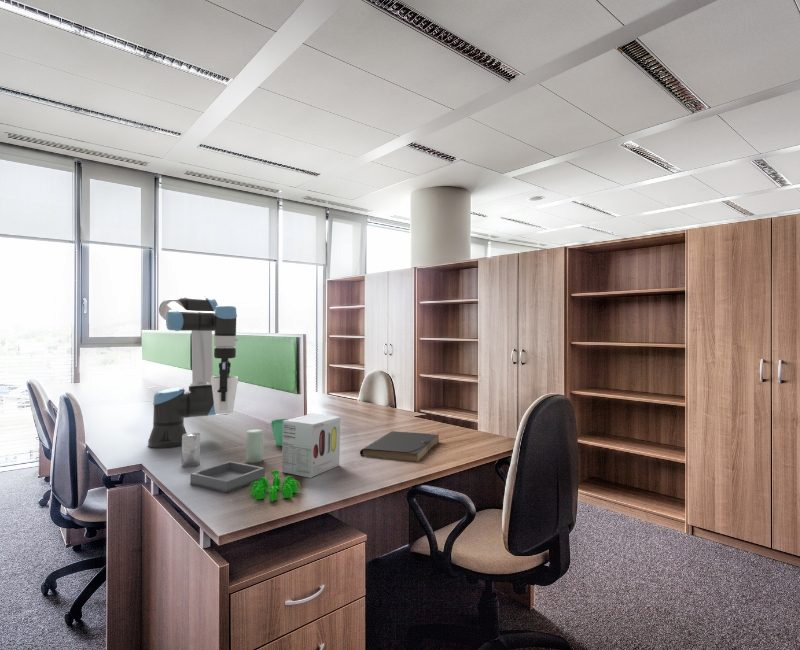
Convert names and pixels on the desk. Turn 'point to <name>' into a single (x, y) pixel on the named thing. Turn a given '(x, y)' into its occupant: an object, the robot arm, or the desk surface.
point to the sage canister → (254, 446)
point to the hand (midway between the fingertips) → (224, 407)
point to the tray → (227, 476)
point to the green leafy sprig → (274, 487)
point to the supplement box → (310, 444)
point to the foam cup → (231, 391)
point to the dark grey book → (401, 446)
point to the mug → (278, 430)
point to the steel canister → (190, 450)
